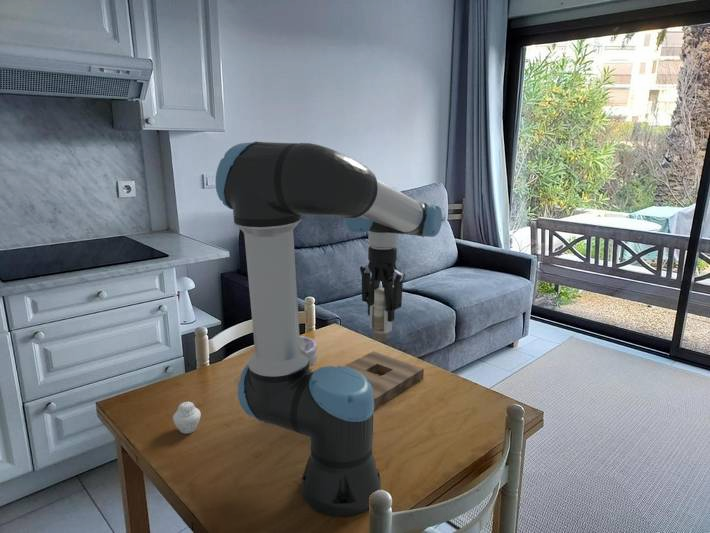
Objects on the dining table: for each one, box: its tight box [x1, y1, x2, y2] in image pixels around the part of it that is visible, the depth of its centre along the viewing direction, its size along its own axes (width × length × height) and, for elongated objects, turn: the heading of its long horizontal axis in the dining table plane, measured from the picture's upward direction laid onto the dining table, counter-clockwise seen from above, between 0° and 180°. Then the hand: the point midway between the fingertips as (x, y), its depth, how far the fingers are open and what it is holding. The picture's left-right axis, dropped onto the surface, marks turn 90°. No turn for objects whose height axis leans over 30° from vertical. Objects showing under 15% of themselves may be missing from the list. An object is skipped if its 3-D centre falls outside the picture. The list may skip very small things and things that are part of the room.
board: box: [342, 351, 425, 411], centre depth 138 cm, size 24×18×3 cm
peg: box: [372, 287, 389, 342], centre depth 136 cm, size 4×4×14 cm
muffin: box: [172, 401, 202, 434], centre depth 114 cm, size 6×6×7 cm
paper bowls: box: [299, 335, 318, 369], centre depth 144 cm, size 15×15×8 cm
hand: (380, 329), depth 137 cm, fingers closed on peg, 4 cm apart
